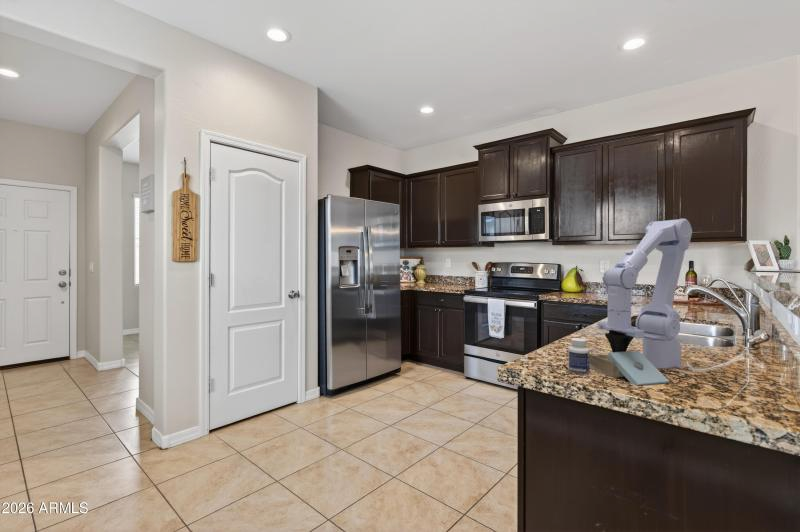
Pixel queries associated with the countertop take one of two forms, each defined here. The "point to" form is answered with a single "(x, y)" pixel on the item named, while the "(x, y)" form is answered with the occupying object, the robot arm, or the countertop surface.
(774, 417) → the countertop surface
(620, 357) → the lid
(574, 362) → the pill bottle
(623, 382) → the countertop surface
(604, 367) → the box
